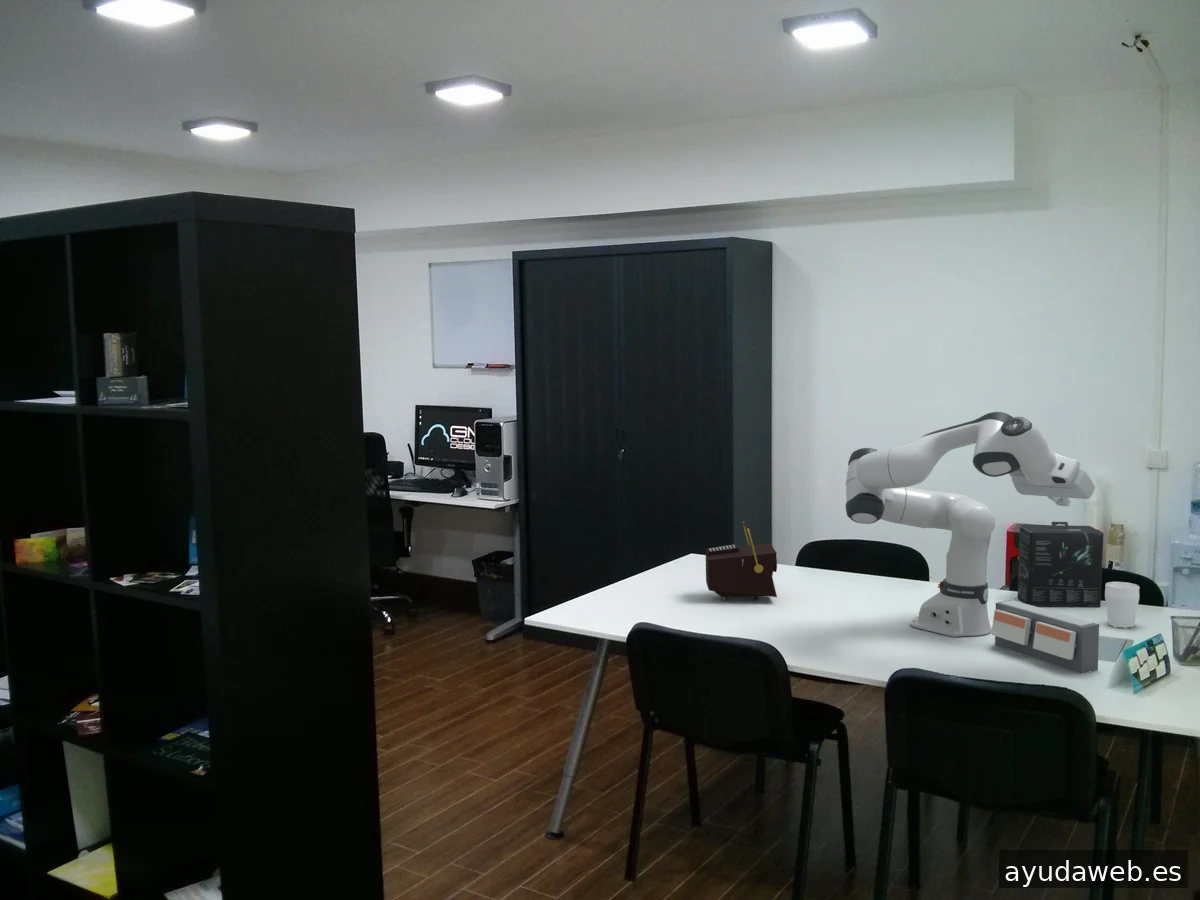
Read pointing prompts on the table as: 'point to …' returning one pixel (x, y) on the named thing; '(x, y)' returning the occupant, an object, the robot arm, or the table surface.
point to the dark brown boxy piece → (741, 570)
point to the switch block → (1085, 630)
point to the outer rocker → (1054, 640)
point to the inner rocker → (1011, 627)
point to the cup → (1121, 603)
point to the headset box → (1060, 565)
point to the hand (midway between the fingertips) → (1064, 504)
